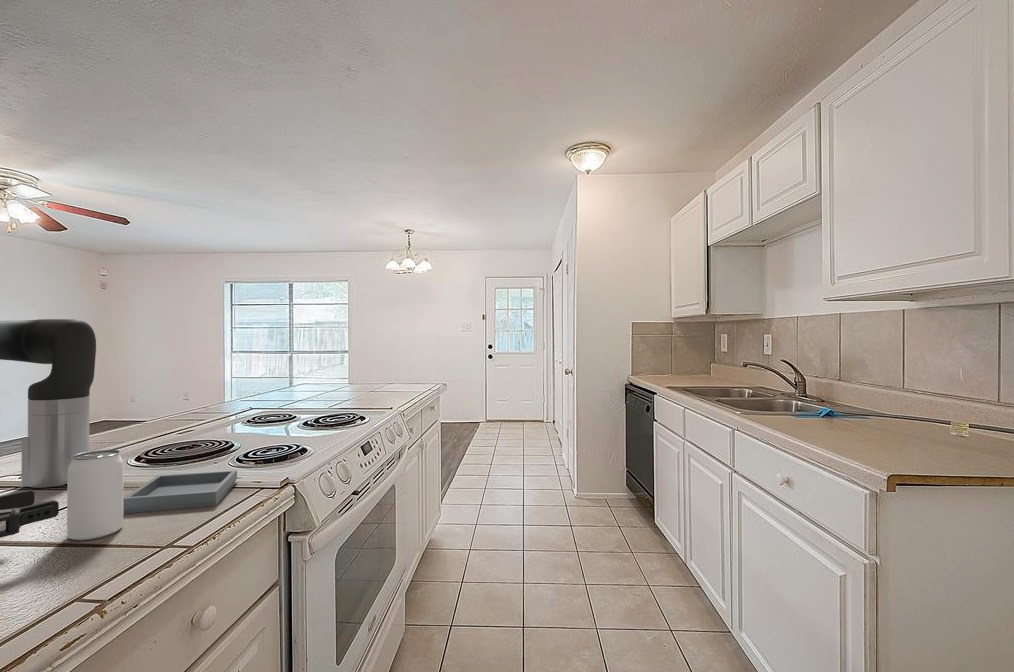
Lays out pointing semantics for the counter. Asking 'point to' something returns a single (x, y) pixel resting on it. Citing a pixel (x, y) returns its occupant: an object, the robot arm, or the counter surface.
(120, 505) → the can
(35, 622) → the counter surface
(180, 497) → the bin
